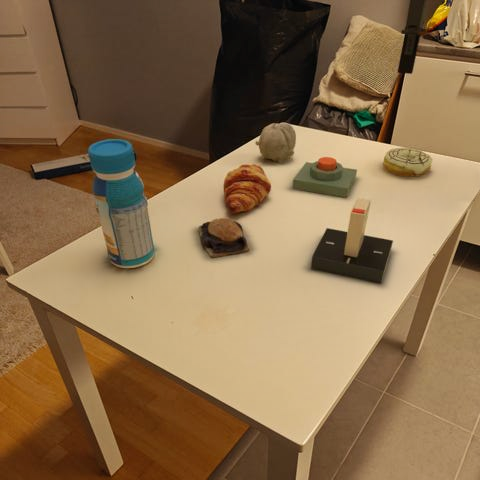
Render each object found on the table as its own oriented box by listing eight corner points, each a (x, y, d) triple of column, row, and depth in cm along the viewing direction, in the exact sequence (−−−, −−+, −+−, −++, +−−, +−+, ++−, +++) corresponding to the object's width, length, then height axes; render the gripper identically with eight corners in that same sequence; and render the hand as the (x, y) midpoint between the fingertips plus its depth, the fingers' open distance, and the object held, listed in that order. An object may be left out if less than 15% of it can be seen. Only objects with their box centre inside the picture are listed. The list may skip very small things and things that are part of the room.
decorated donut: (426, 182, 104) (430, 166, 101) (378, 174, 107) (381, 158, 105) (431, 164, 111) (436, 149, 108) (386, 157, 114) (390, 142, 112)
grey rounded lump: (292, 166, 117) (309, 129, 110) (277, 173, 111) (294, 134, 104) (262, 147, 119) (277, 110, 112) (246, 153, 113) (260, 114, 106)
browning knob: (350, 238, 82) (357, 196, 76) (363, 241, 81) (371, 198, 76) (343, 255, 78) (350, 211, 73) (356, 257, 77) (364, 213, 72)
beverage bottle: (143, 273, 79) (121, 160, 66) (99, 266, 81) (70, 154, 68) (163, 247, 85) (147, 139, 72) (122, 241, 87) (99, 134, 74)
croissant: (246, 188, 110) (230, 158, 106) (283, 172, 105) (268, 140, 102) (221, 231, 95) (202, 198, 91) (264, 215, 90) (246, 179, 86)
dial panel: (390, 252, 83) (393, 239, 81) (381, 283, 76) (384, 270, 74) (325, 239, 86) (326, 227, 85) (310, 268, 80) (312, 255, 78)
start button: (337, 166, 102) (338, 158, 101) (333, 173, 100) (334, 165, 98) (319, 163, 104) (320, 155, 102) (315, 170, 101) (316, 162, 100)
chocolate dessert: (196, 229, 90) (194, 212, 88) (237, 223, 92) (237, 206, 89) (207, 259, 82) (205, 241, 80) (252, 251, 84) (252, 233, 81)
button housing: (355, 178, 106) (358, 161, 103) (346, 197, 99) (348, 180, 96) (305, 170, 109) (306, 154, 107) (292, 188, 102) (293, 171, 100)
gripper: (418, -90, 80) (390, 62, 95) (408, -89, 71) (379, 79, 86) (464, -91, 77) (428, 65, 93) (460, -90, 68) (421, 83, 84)
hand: (405, 72), depth 90 cm, fingers closed
